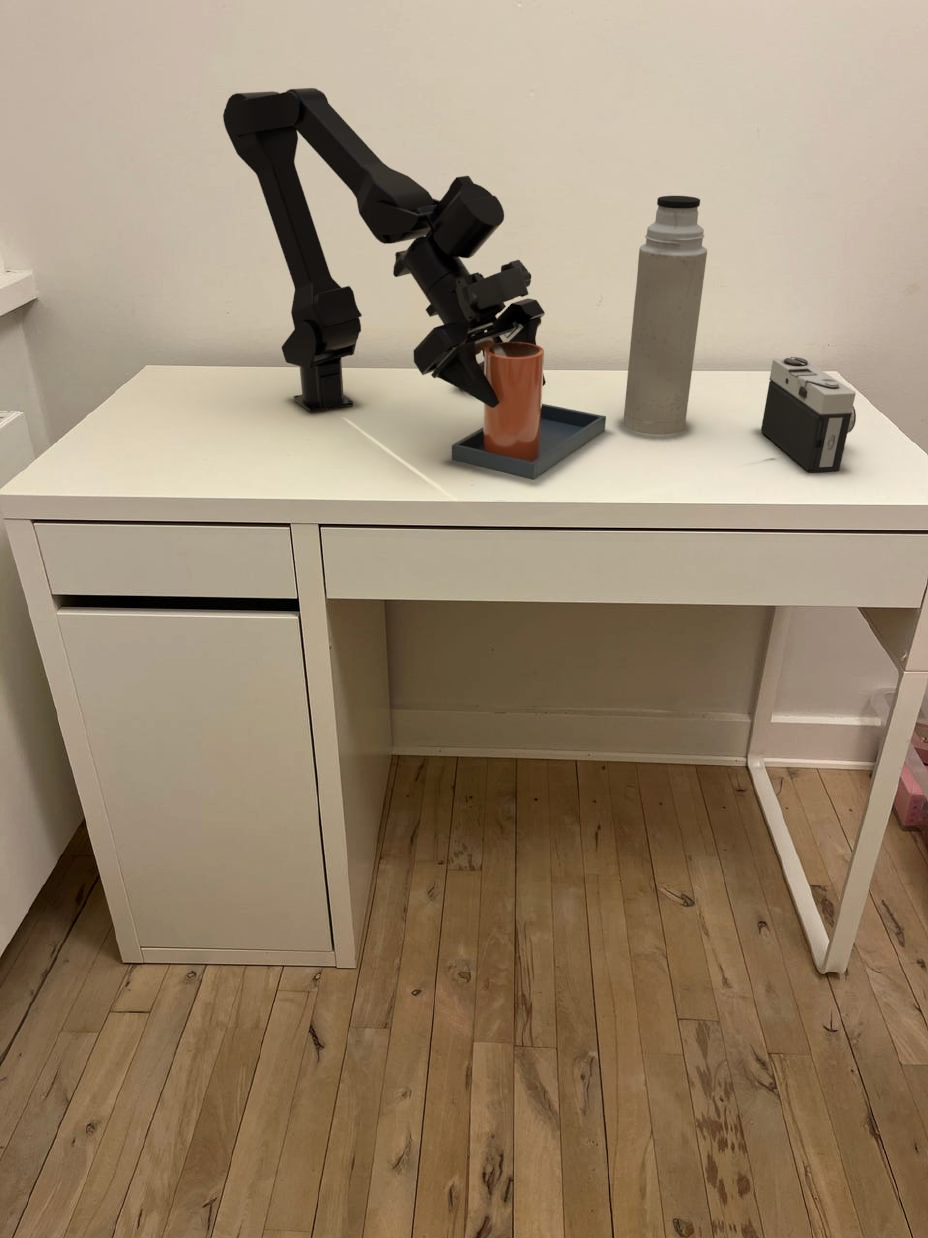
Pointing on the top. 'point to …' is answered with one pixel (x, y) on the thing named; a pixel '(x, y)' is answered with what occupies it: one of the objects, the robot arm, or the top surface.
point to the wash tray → (557, 442)
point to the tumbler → (514, 399)
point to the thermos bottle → (665, 318)
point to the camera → (808, 414)
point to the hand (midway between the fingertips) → (520, 395)
